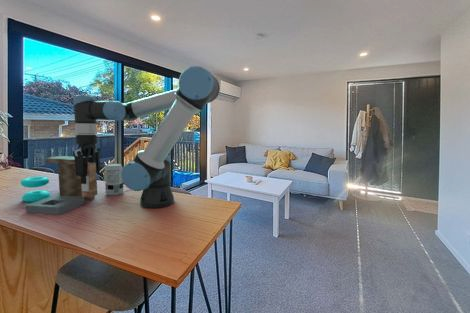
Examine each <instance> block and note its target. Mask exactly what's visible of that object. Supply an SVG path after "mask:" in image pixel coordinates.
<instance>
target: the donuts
mask: <svg viewBox="0 0 470 313" xmlns="http://www.w3.org/2000/svg"><path fill="white" fill-rule="evenodd" d="M49 183H50V178H48V177H47V176H32V177H31V176H29V177H26V178H24V179H22V180H21V181H20V185H21V186H22V187H24V188H29V189H30V188H41V187H44V186H46V185H47V184H49ZM48 197H51V193H50V192H49V191H48V190H41V189H40V190H31V191H28V192H26V193H24V194H23V195H22V197H21V200H22V201H23V202H25V203H34V202H36V201H39V200H42V199H45V198H48Z"/></svg>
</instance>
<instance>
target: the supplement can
mask: <svg viewBox="0 0 470 313" xmlns="http://www.w3.org/2000/svg"><path fill="white" fill-rule="evenodd" d="M123 167H124V166H122V164H121V163H109V164H106V165H105V167H104V176H105V178H104V180H105V181H104V182H105V183H104V184H105V185H104V186H105V194H106V195H108V196H119V195H121V194H123V192H124V183H123V180H122V177H121V171H122V169H123Z"/></svg>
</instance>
